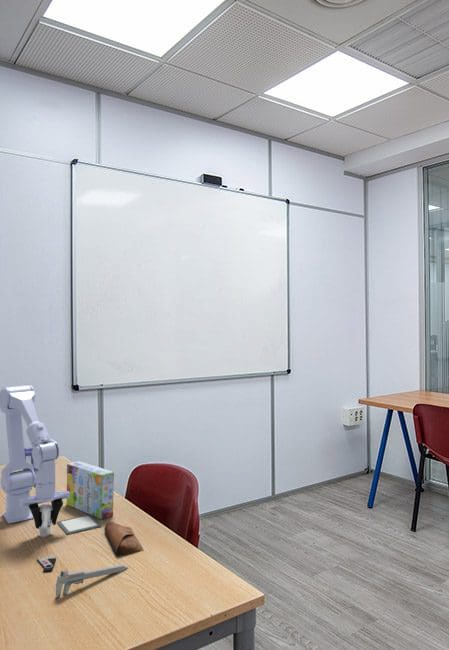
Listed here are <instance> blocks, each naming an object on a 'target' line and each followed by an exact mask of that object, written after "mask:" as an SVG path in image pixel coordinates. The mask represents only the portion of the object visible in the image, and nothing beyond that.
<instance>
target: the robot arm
mask: <svg viewBox="0 0 449 650" xmlns="http://www.w3.org/2000/svg"><path fill="white" fill-rule="evenodd" d="M35 398H36V391H35V387H33V386H32V384H27V385H17V386H16V385H15V386H3V387H2V388H1V390H0V412H1V413H4V414H5V415H4V416H5V425H6V426H5V427H6V437H7V449H8V459H9V461H8V463H7V464H6V465H5V466H4V467H3V468H2V469H1V473H0V477H1V478H0V489H1V490H2V492H4V493H5V494H6V495H5V512H2V516H3V517H4V519H5V521H6V522H7V524H12V523H17V522H22V521H28V520H32V519H33V521H34V527H35V528H36V529H37V530H38V529H39V512H40V508H39V506H40V505H39V504H45V503H51V504H50V505H51V506H52V507H53V512H52V520H51V525H53V526H55V525H57V522H58V516H59V513H60V511H61V509H62V507H63V505H64V500H65V499H66V500H67V499H70V492H69V491H67V490H64V491H56V460H57V459H58V458H59V455H60V448H59V445H58V442H57V441H55V440H54V438H51V436H50V435H49V432H48V430H47V428H46V425H45V424H44V423H43V422H41V421H40V420H39V417H38V413H37V412H36V411H37V410H36V408H35V407H36V406H35ZM22 419H23V420H24V422H25V424H26V426H27V428H26V430H25V431H26V435H27V438H28V440H29V442H30V445H31V448H33V450H32V457H33V461H34V468H36V475H35V472H34V469H33V465H32V464H31V463H29V462H27V461H26V460H25V451H24V448H25V443H24V441H25V440H24V432H23V431H24V430H23V421H22ZM23 469H25V470H23ZM35 482H36V486H35ZM34 486H35V495H33V496H31V491H32V490H33V487H34ZM54 503H55V504H54ZM53 505H54V506H53Z"/></svg>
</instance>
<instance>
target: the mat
mask: <svg viewBox="0 0 449 650" xmlns="http://www.w3.org/2000/svg"><path fill="white" fill-rule="evenodd" d="M56 525H58V526H59V528H61V530H62V532H64V533H65V535H73V534H76V533H83V532H85V531H88V530H89V531H90V530H95V529H98V528H101V527H102V525H101V524H100V523H99V522H98V521H97V520H96V519H95V518H94V516H92V515H90V514H86V515H81V516H77V517H72V518H67V519H64V520H63V519H62V520H59V521H58V520H57V521H56Z"/></svg>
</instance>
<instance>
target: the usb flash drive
mask: <svg viewBox="0 0 449 650" xmlns="http://www.w3.org/2000/svg"><path fill="white" fill-rule="evenodd" d="M36 560H37V561H39V562H40V563H41V565H42V566H43V570H42V573H52V572H53V571H54V569H55V568H54V567H55V565H56V561H57V555H49V556H48V558H47V557H46V556H42V557H37V558H36Z"/></svg>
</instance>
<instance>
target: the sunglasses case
mask: <svg viewBox="0 0 449 650" xmlns="http://www.w3.org/2000/svg"><path fill="white" fill-rule="evenodd" d="M104 533H105V535H106V536H107V538H108V540H109V543H110V544H111V546H112V548H113V551H114V552H115V554H116V555H117V556H118V557H123V556H128V555H132V554H137V553H141V552H144V548H143V547H142V545H141V543H140V541H139V540H138V538H137V536H136V535H135V533H134V531H133V529H132V527H129V526H124V525H121V524H119V523H115V522H112V521H108V522H107V523H106V524H105V526H104Z"/></svg>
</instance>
